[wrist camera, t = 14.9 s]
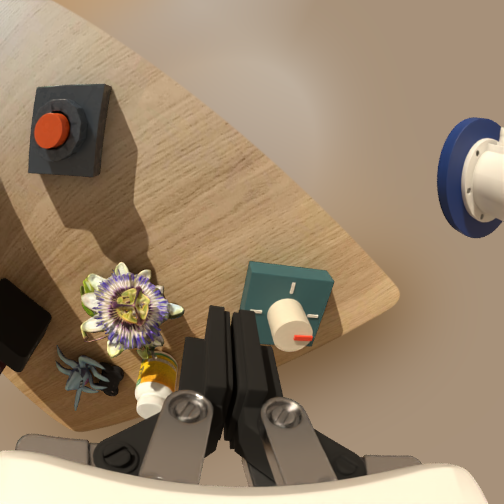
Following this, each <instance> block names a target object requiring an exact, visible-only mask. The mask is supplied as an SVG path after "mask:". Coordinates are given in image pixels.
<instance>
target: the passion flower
mask: <svg viewBox="0 0 504 504" xmlns="http://www.w3.org/2000/svg"><path fill="white" fill-rule="evenodd" d="M113 272H114V273H113V274H112V273H111V274H112V275H111V277H109V278H108V279H106V278H102V277H101V276H98V275H97V274H89V275H88V277H87V278H86V279H85V280H84V281H83V286H84V287H83V286H81V287H80V293H81V300H82V306H83V308H84V310H85V311H86V313H87V314H88V315H90V316H91V317H92V318H90V319H88V320H87V321H85V322H84V323H82V325H81V327H80V329H81V331H82V335H83V339H84V341H85V342H93V341H97V340H100V339H103V338H106V337H108V336H109V337H108V339H109V340H108V342H107V343H108V344H107V352H108V355H109V356H110V357H111V358H113V357H116V356H118V355H119V354H121V352H123V351H124V350H125V349H131V348H138V349H142V348H143V346H144V348H145V350H144V351H141V350H136V351H137V353H138V354H139V355H140V357H142V358H143V359H146V360H147V359H149V355H151V356H152V357H153V359H157V356H156V355H155V353H154V349H155V347H157V346H163V344H164V340H163V338H162V335H161V334H160V332H159V331H161V329H160V328H159V326H160V325H161V324H162V323H163V322H164V321H166V320H168V319H175V318H179V317H181V316H182V315H183V314H184V309H183V307H181V306H179V305H176V304H172V303H170V304H169V302H168V301H167V299H165V298H164V295H163V292H164V286H160V285H157V286H155V285H154V284H152V283H151V282H150V279H151V270H143V271H141V272H140V273H139V274H136V275H134V274H133V273H132V274H131V272H129V270H128V267H127V266H126V265H125V264H124V263H123V262H120V263H119V264H118V265H117V266H116V268H115V270H113ZM84 292H85V293H84ZM85 331H86V332H90V333H96V332H104V331H107V332H106V333H105V334H107V333H108V334H109V335H107V336H104V337H101V338H99V339H95V340H92V341H87V339H88V336H87V335H86V333H85ZM149 347H150V348H149Z"/></svg>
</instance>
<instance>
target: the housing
mask: <svg viewBox="0 0 504 504" xmlns="http://www.w3.org/2000/svg"><path fill="white" fill-rule="evenodd" d="M110 92H111V86H109V85H106V84H78V85H57V86H44V87H37V90H36V96H35V102H34V109H33V117H32V125H31V136H30V149H29V168H28V173H38V174H55V175H69V176H83V177H95V176H97V175H99V174H100V168H101V157H102V147H103V138H104V131H105V123H106V116H107V110H108V104H109V98H110ZM47 113H60V114H63V115H64V116H65V117H66V118H67V119H68V121H69V125H70V131H69V135H68V137H67V139H66V141H65V142H64V143H63V144H62V145H60V146H58V147H54V148H49V149H45V148H42V147H40V146H39V145H38V144H37V142H36V140H35V136H34V131H35V126H36V124H37V122H38V120H39V119H40V118H41V117H42V116H43V115H45V114H47Z"/></svg>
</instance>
